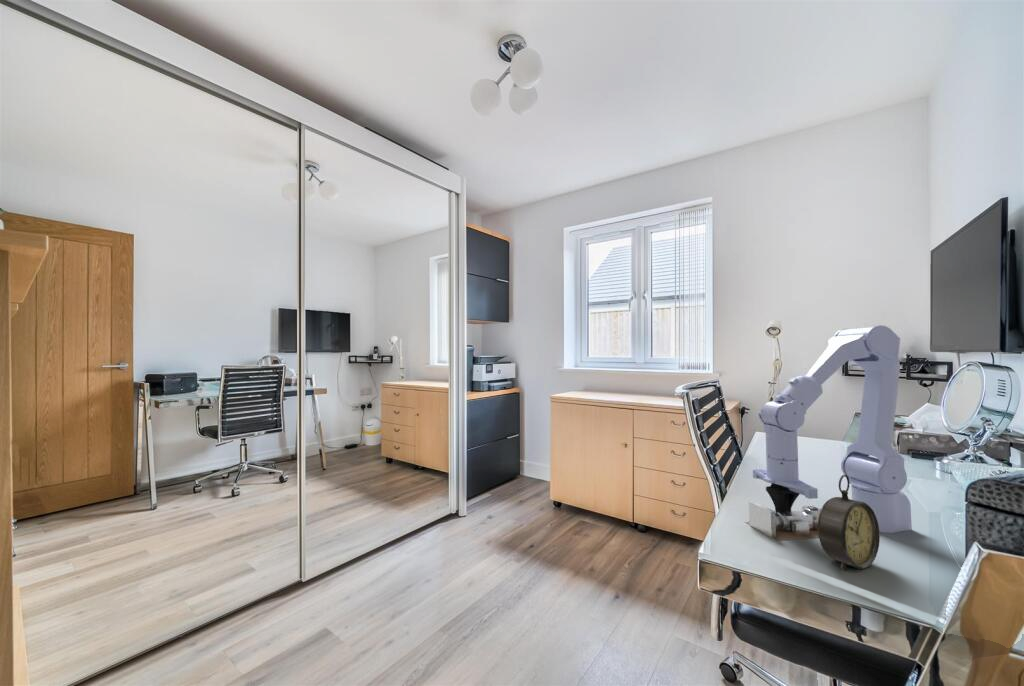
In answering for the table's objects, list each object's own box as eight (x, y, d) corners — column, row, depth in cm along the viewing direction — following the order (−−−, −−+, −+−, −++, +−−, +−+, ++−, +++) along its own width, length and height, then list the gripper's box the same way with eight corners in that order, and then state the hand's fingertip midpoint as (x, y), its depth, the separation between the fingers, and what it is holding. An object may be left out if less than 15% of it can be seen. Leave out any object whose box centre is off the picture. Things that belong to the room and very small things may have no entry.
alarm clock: (848, 582, 64) (844, 482, 65) (811, 567, 69) (808, 474, 70) (883, 569, 68) (879, 475, 69) (847, 555, 73) (843, 467, 74)
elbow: (813, 522, 85) (812, 504, 85) (828, 529, 81) (827, 510, 82) (772, 525, 84) (771, 506, 84) (786, 532, 80) (785, 512, 80)
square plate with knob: (786, 522, 85) (786, 499, 86) (811, 534, 80) (810, 509, 80) (749, 524, 84) (748, 501, 85) (771, 537, 78) (770, 511, 79)
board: (813, 522, 88) (813, 518, 88) (853, 540, 79) (852, 535, 79) (744, 526, 86) (744, 521, 86) (777, 545, 77) (777, 540, 77)
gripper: (740, 450, 91) (742, 509, 90) (795, 467, 77) (797, 537, 76) (767, 449, 92) (768, 508, 92) (825, 465, 78) (828, 535, 77)
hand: (783, 521), depth 84 cm, fingers closed, pressing on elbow
